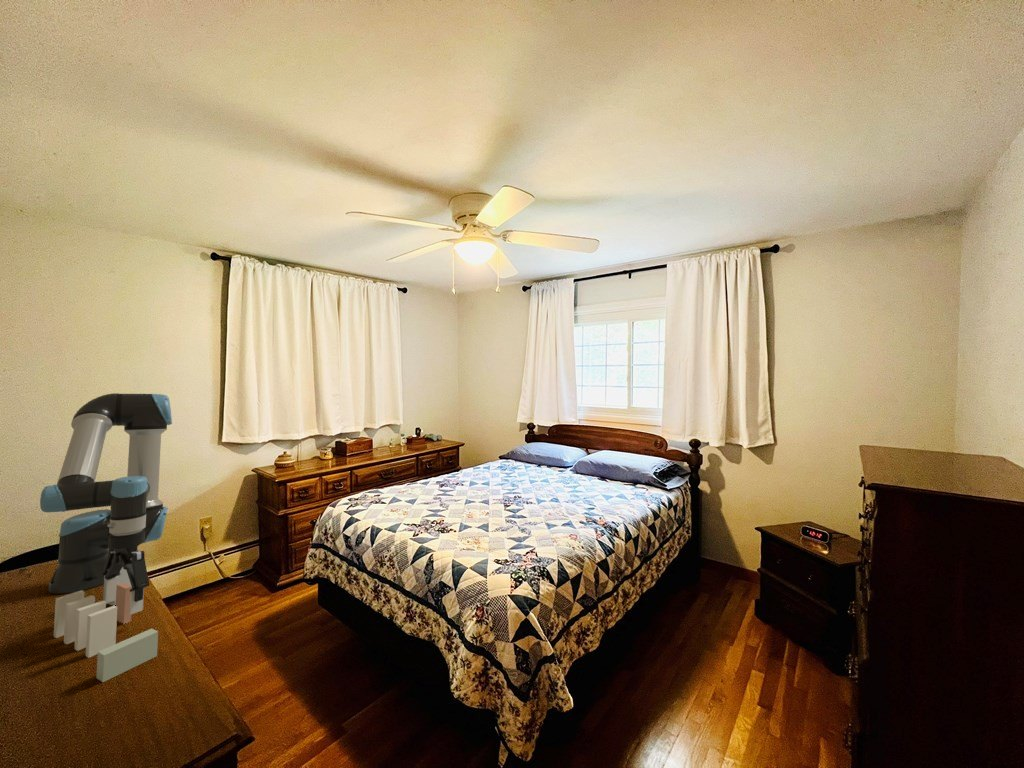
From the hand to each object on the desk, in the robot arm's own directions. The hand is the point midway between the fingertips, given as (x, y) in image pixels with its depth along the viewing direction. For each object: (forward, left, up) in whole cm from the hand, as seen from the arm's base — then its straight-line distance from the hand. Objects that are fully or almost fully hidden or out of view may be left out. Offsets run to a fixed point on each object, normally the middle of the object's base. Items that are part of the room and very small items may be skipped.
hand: (123, 606), depth 113 cm
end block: (+22, +15, -4) cm, 27 cm away
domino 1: (+4, -10, -4) cm, 12 cm away
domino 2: (+7, -5, -4) cm, 10 cm away
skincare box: (-12, -10, -4) cm, 16 cm away
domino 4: (+14, +5, -4) cm, 15 cm away
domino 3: (+11, 0, -4) cm, 11 cm away
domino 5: (0, 0, -4) cm, 4 cm away
